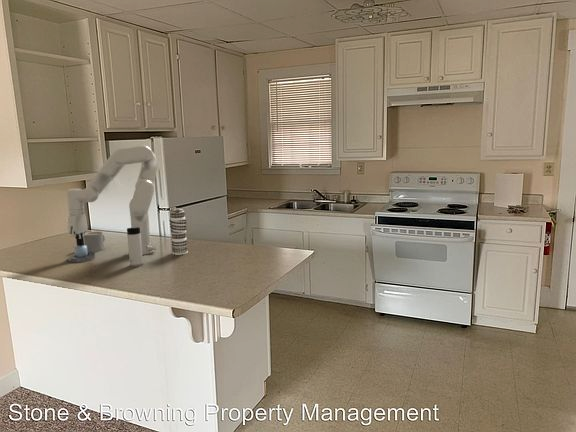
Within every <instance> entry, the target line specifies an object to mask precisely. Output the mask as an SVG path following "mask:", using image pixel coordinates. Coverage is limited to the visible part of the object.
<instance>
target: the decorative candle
mask: <svg viewBox="0 0 576 432" xmlns="http://www.w3.org/2000/svg"><path fill="white" fill-rule="evenodd" d="M169 213H170V219H169V222H170V223H169V226H170V227H169V228H170V234H171V243H172V244H171V246H172V247H171V249H172V250H171V251H172V255H174V254H175V255H176V256H180V255H182V254H183V255H187V254H188V252H189V251H188V249H189V248H188V247H189V246H188V240H187V225H186V224H187V219H186V215H185V210H184V209H183V208H181V207H176V208H175V207H174V208H172V209H171V210H170V211H169Z"/></svg>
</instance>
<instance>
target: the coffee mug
mask: <svg viewBox="0 0 576 432" xmlns="http://www.w3.org/2000/svg"><path fill="white" fill-rule="evenodd" d="M83 239H84V245H87V252H93V253H98V252H102V251H104V250H105V243H104V242H105V239H106V238H105V234H104V233H103V232H102V231H96V230H95V231H87V232H86V233H85V234H84V238H83Z"/></svg>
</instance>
